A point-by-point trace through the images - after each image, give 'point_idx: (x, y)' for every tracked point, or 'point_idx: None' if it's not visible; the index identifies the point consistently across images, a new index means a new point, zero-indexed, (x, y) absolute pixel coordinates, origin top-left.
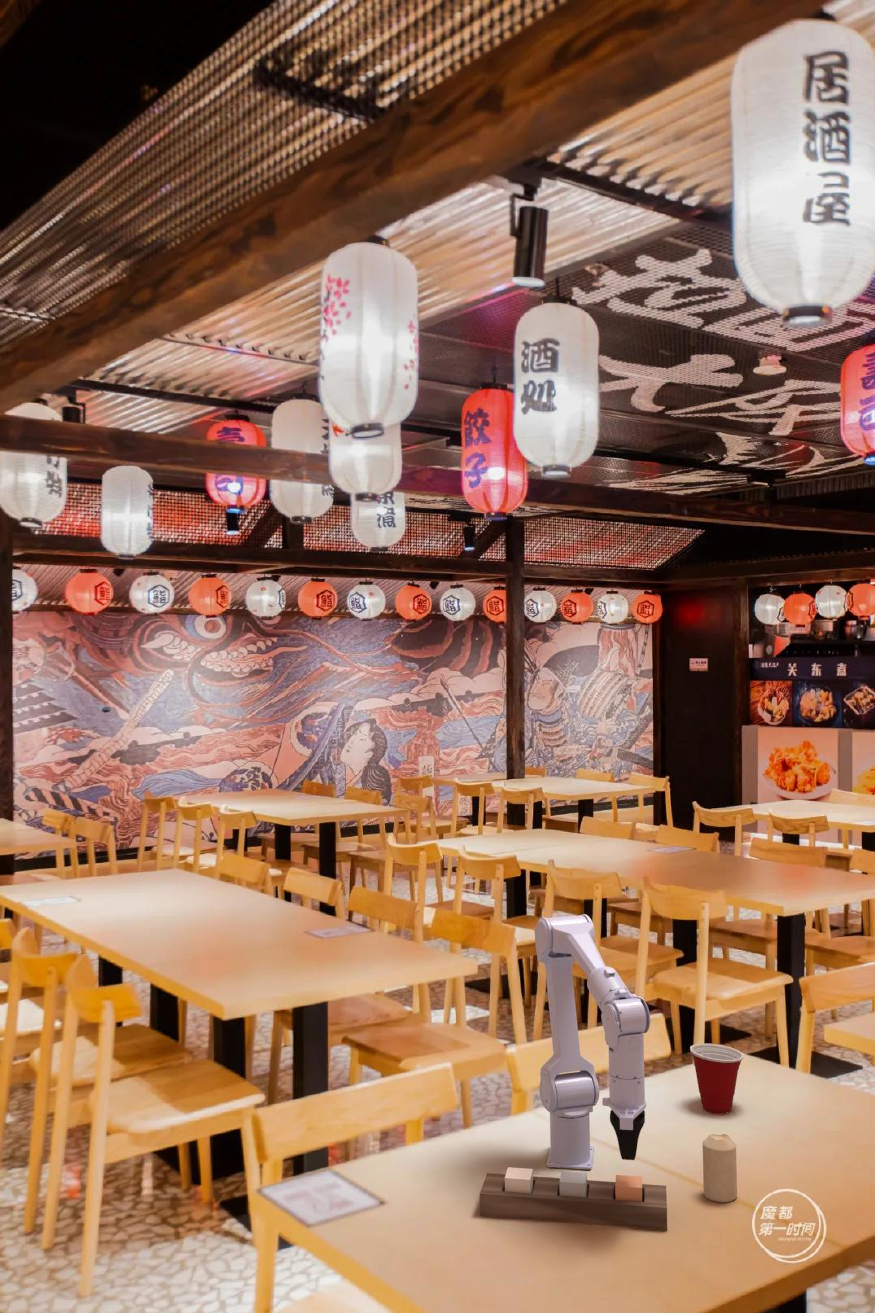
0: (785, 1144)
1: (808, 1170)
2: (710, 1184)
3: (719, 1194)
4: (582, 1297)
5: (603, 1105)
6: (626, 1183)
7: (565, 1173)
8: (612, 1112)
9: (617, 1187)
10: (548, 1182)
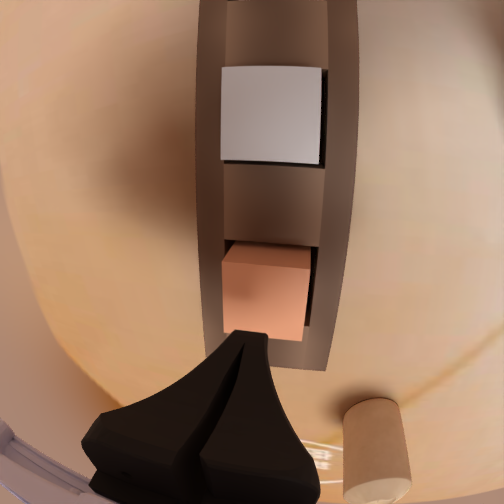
0: (491, 458)
1: (422, 479)
2: (354, 427)
3: (345, 424)
4: (8, 177)
5: (88, 494)
6: (245, 296)
7: (301, 82)
8: (235, 479)
9: (222, 266)
10: (318, 35)
